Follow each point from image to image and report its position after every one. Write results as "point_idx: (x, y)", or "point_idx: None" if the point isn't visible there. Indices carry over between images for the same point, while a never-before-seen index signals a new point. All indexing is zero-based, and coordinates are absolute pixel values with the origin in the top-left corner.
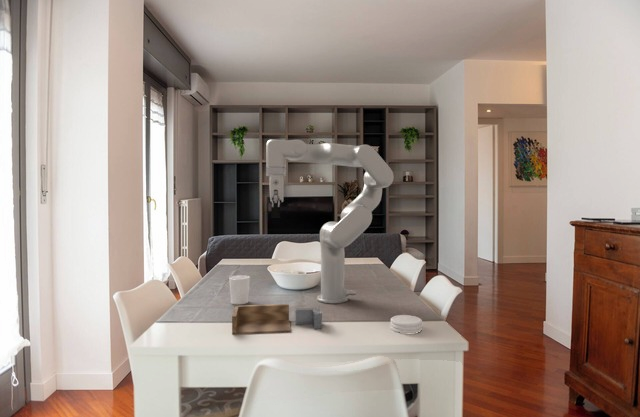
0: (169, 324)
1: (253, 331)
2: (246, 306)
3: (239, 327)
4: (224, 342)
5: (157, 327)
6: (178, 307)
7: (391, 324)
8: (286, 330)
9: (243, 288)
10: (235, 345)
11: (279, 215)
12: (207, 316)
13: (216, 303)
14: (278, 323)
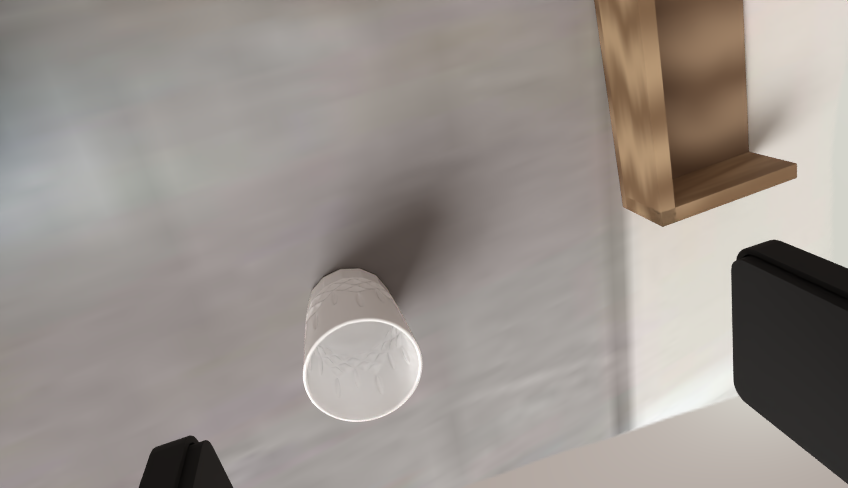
0: (649, 395)
1: (745, 92)
2: (671, 175)
3: (703, 159)
4: (808, 157)
5: (675, 409)
6: (466, 477)
7: None
8: None
9: (395, 307)
10: (835, 112)
11: (809, 262)
12: (562, 331)
13: None
14: (660, 18)
